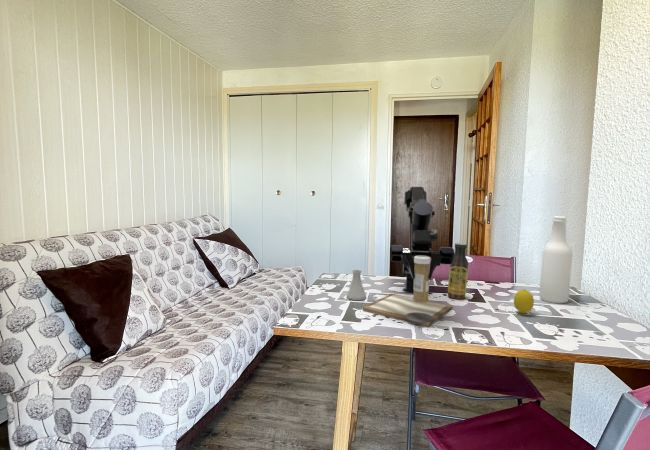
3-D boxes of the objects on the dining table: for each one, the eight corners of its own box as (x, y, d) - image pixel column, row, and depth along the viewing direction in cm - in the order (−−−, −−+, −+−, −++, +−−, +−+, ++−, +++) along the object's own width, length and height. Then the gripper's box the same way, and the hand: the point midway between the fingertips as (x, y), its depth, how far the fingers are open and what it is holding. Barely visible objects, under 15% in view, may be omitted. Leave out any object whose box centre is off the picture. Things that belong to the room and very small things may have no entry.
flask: (366, 295, 132) (366, 268, 131) (366, 301, 125) (367, 273, 124) (346, 294, 132) (347, 268, 131) (345, 300, 125) (346, 272, 124)
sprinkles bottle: (431, 302, 104) (433, 257, 103) (418, 304, 103) (420, 258, 101) (422, 297, 109) (424, 254, 107) (409, 299, 107) (411, 255, 106)
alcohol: (568, 299, 129) (575, 216, 125) (567, 305, 121) (574, 218, 118) (540, 294, 134) (546, 215, 131) (538, 300, 127) (544, 216, 124)
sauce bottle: (446, 298, 128) (449, 244, 126) (447, 293, 134) (450, 241, 132) (466, 300, 126) (469, 245, 124) (466, 296, 132) (469, 242, 130)
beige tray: (391, 296, 131) (392, 292, 131) (452, 309, 117) (452, 305, 117) (361, 311, 114) (361, 307, 114) (426, 328, 101) (427, 324, 101)
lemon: (530, 311, 115) (532, 287, 114) (534, 317, 110) (536, 292, 109) (511, 309, 117) (513, 286, 116) (514, 315, 112) (516, 290, 111)
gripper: (390, 218, 109) (389, 262, 99) (455, 220, 105) (459, 265, 96) (390, 240, 117) (389, 282, 108) (449, 242, 114) (453, 285, 104)
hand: (421, 278), depth 104 cm, fingers closed on sprinkles bottle, 4 cm apart
